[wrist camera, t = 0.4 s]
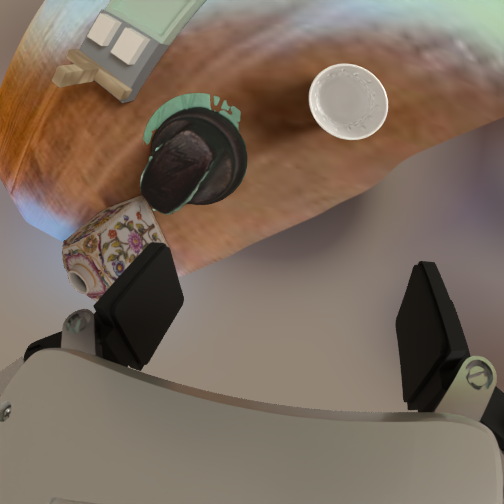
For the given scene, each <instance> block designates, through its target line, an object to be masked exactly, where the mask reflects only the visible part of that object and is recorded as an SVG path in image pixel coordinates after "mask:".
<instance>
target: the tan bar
mask: <svg viewBox="0 0 504 504" xmlns="http://www.w3.org/2000/svg"><path fill="white" fill-rule="evenodd" d="M66 58H67V59H68V60H70V61H71V62H72V63H74V64H72V65H64V66H57V69H56V71H55V74H54V77H53V79H52V81H53V82H54V83H55V84H56V85H57V86H58V87H59V88H60V87H65V86H70V85H75V84H81V83H86V82H93V80H95V81H96V82H98V83H99V84H100V85H101V86H103V87H104V88H105V89H106V90H108V91H109V92H110V93H111V94H113V95H114V96H115V97H116V98H118V99H119V100H122V99H127V98H128V97H129V95H130V93H131V92H132V89H131V88H129V87H128V86H127V85H125V84H124V83H123V82H122V81H120V80H119V79H118V78H116V77H115V76H114V75H112V74H111V73H110V72H108V71H107V70H106V69H104V68H103V67H102V66H100V65H99V64H98V63H96V62H95V61H94V60H92V59H91V58H90V57H88V56H87V55H85V54H84V53H83V52H81V51H80V50H78V49H71V50H69V52H68V54H67V56H66Z"/></svg>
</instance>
